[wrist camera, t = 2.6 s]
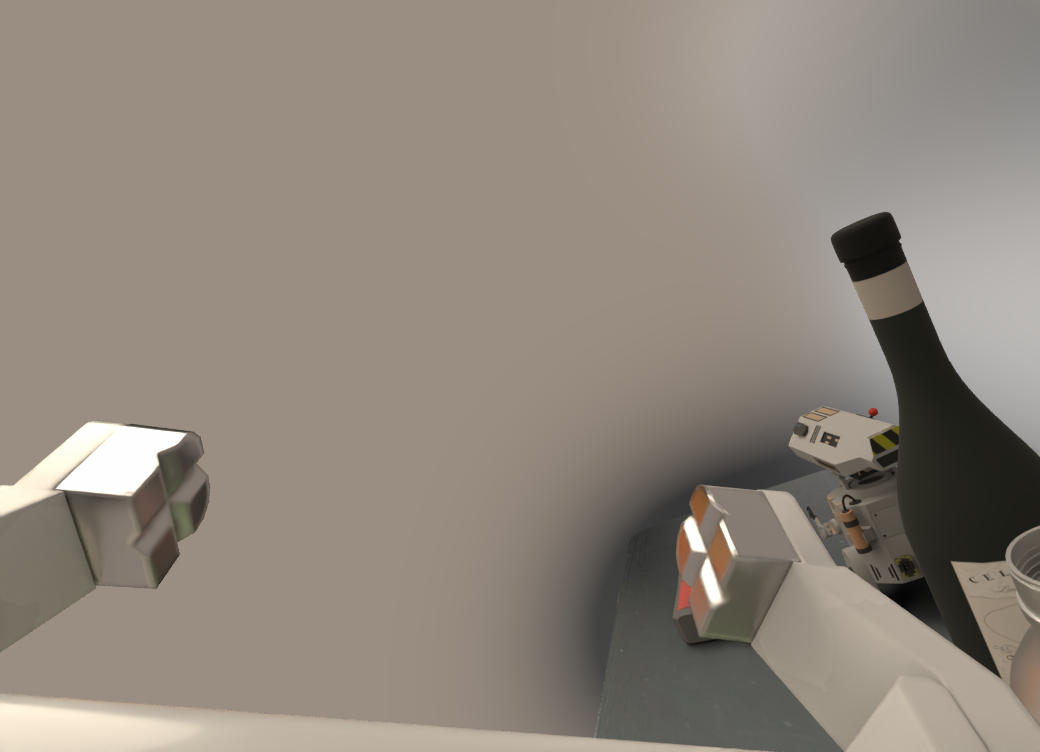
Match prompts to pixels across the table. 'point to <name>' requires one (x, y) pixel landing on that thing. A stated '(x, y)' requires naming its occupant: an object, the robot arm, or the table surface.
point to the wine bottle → (947, 457)
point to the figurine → (860, 491)
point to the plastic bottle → (1027, 618)
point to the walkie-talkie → (685, 615)
